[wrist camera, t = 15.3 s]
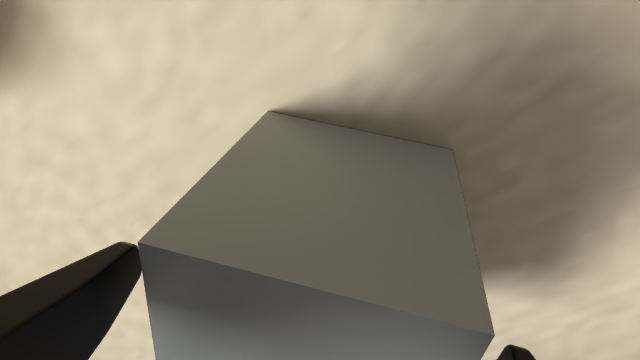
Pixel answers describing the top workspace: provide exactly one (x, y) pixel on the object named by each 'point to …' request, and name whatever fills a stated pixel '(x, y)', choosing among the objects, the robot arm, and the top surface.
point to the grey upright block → (318, 253)
